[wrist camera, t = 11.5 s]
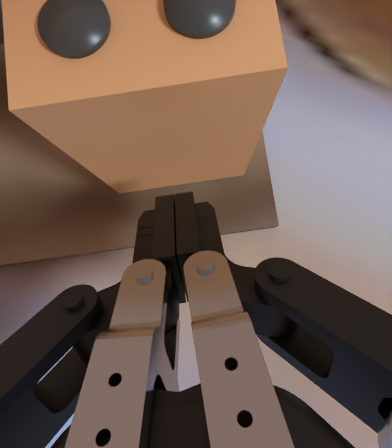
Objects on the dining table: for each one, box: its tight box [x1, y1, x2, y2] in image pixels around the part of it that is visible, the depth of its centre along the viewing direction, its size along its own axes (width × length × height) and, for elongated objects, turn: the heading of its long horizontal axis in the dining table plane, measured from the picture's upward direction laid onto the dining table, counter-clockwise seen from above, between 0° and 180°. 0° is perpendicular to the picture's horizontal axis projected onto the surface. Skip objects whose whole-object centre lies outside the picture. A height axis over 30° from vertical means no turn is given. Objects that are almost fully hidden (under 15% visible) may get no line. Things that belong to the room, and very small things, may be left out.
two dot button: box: [2, 0, 288, 193], centre depth 12 cm, size 4×7×10 cm, turn 98°
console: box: [0, 0, 278, 266], centre depth 16 cm, size 18×26×6 cm
